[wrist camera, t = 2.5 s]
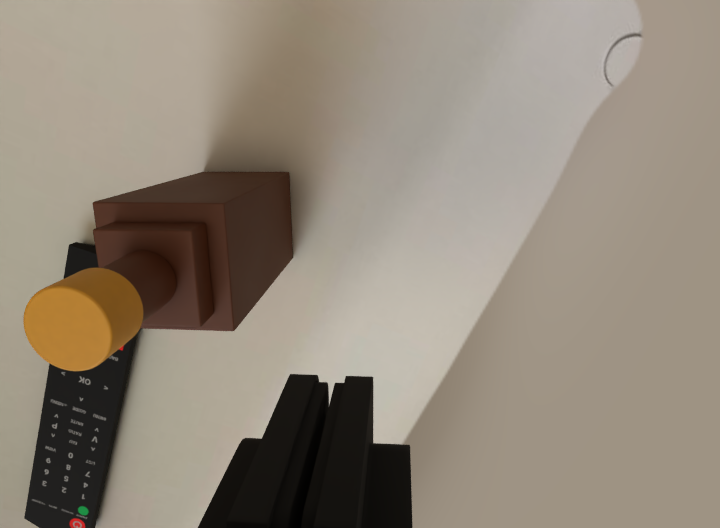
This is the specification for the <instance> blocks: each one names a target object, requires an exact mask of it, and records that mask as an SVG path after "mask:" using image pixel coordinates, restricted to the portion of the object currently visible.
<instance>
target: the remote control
mask: <svg viewBox="0 0 720 528" xmlns="http://www.w3.org/2000/svg"><path fill="white" fill-rule="evenodd" d="M88 268H99V267H98V260H97V254H96V247H95V246H93V245H88V244H83V243H77V242H75V243H73V244H70V245H69V249H68V255H67V261H66V267H65V274H64V279H65V278H67V277H69V276H71V275H73V274H75V273H77V272H79V271H82V270H84V269H88ZM137 333H138V332H137ZM136 337H137V334H136V335H135V336H134V337H133V338H132V339H131V340H129V341H128V342H127V343H126V344H124V345H123V346H122V347H121V348H119V349H118V350H117V351H116V352H115V353H113V354H112V355H111V356H110V357H108V358H107V359H106V360H105V361H103V362H102V363H101V364H99V365H98V366H96V367H94V368H92V369H89V370H84V371H69V370H64V369H61V368H58V367H56V366H54V365H52V364H50V365H49V371H48V377H47V383H46V389H45V396H44V402H43V408H42V414H41V420H40V426H39V432H38V438H37V444H36V451H35V457H34V463H33V469H32V475H31V481H30V487H29V493H28V499H27V505H26V512H25V519H26V520H28V521H30V522H31V523H33V524H35V525H36V526H38V527H39V528H95V525H96V521H97V516H98V511H99V507H100V502H101V498H102V493H103V489H104V484H105V479H106V475H107V470H108V466H109V461H110V456H111V452H112V447H113V443H114V438H115V434H116V429H117V424H118V420H119V415H120V411H121V406H122V402H123V397H124V392H125V388H126V383H127V379H128V374H129V370H130V365H131V360H132V356H133V351H134V347H135V342H136Z"/></svg>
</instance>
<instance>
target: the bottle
mask: <svg viewBox="0 0 720 528" xmlns="http://www.w3.org/2000/svg"><path fill="white" fill-rule="evenodd" d="M93 209H94V216H95V222H96V229H94V230H93V234H94V241H95V247H96V254H97V260H98V267H99V268H88V269H84V270H82V271H79V272H77V273H75V274H73V275H71V276H69V277H67V278H65V279H63V280H60V281H58V282H56V283H54V284H52V285H50V286H48V287H46V288H44V289H42V290H40V291H38V292H37V293H36V294H35V295H34V296H33V297H32V298H31V299H30V301H29V302H28V304H27V306H26V309H25V312H24V329H25V333H26V336H27V338H28V340H29V342H30V344H31V346H32V347H33V348H34V350H35V351H36V352H37V353H38V354H39V355H40V356H41V357H42V358H43V359H44V360H46V361H47V362H49V363H50V364H52V365H54V366H56V367H58V368H61V369H64V370H69V371H84V370H89V369H92V368H94V367H96V366H98V365H99V364H101V363H102V362H103V361H105V360H106V359H107V358H108V357H110V356H111V355H112V354H113V353H115V352H116V351H117V350H118V349H119V348H121V347H122V346H123V345H124V344H126V343H127V342H128V341H129V340H131V339H132V338H133V337H134V336H135V335H136V334H137V332H138V331H139V329H140V328H148V329H181V330H214V331H234V330H235V329H236V328H237V327H238V325H239V324H240V323H241V322H242V321H243V319H244V318H245V317H246V316H247V314H248V313H249V312H250V311H251V309H252V308H253V307H254V306H255V304H256V303H257V302H258V301H259V299H260V298H261V297H262V296H263V294H264V293H265V292H266V291H267V289H268V288H269V287H270V286H271V284H272V283H273V282H274V281H275V279H276V278H277V277H278V276H279V274H280V273H281V272H282V271H283V269H284V268H285V267H286V266H287V264H288V263H289V262H290V261H291V259H292V258H293V248H292V225H291V202H290V179H289V172H201V173H197V174H194V175H190V176H186V177H183V178H179V179H176V180H172V181H168V182H165V183H161V184H157V185H154V186H150V187H146V188H143V189H139V190H135V191H132V192H128V193H125V194H121V195H117V196H114V197H110V198H106V199H103V200H99V201H95V202H93Z"/></svg>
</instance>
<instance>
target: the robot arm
mask: <svg viewBox="0 0 720 528" xmlns="http://www.w3.org/2000/svg"><path fill="white" fill-rule="evenodd" d="M410 466H411V465H410V445H399V444H375V443H373V377H361V376H346V378H345V382H344V383H335V385H334V389H333V393H332V397H331V401H330V405H329V395H328V383H325V382H319V379H318V375H298V374H290V376H289V378H288V380H287V382H286V384H285V387H284V389H283V391H282V394H281V396H280V398H279V401H278V403H277V405H276V407H275V410H274V412H273V414H272V417H271V419H270V421H269V424H268V426H267V428H266V431H265V433H264V435H263V437H262V439H256V438H245V439H243V440H242V441H241V443H240V444H239V446H238V448H237V450H236V452H235V454H234V456H233V458H232V460H231V462H230V464H229V466H228V468H227V470H226V472H225V474H224V476H223V478H222V480H221V482H220V484H219V486H218V488H217V490H216V492H215V494H214V496H213V498H212V500H211V502H210V504H209V506H208V508H207V510H206V512H205V514H204V516H203V518H202V520H201V522H200V524H199V526H198V528H412V501H411V467H410Z"/></svg>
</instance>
